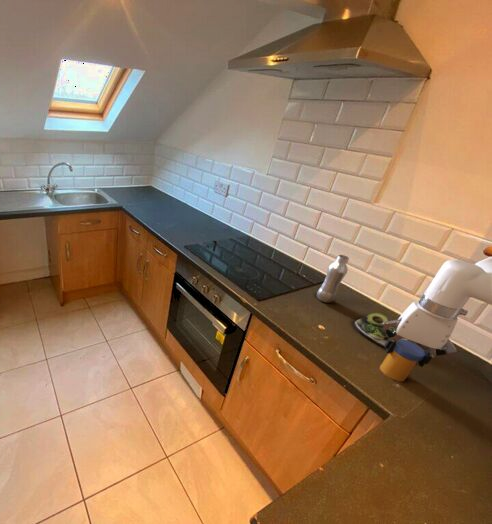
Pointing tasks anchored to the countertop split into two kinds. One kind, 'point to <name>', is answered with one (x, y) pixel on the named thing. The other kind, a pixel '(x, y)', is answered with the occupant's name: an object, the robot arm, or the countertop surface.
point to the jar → (397, 366)
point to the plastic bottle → (333, 279)
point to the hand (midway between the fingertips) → (403, 356)
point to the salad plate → (375, 328)
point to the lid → (409, 350)
